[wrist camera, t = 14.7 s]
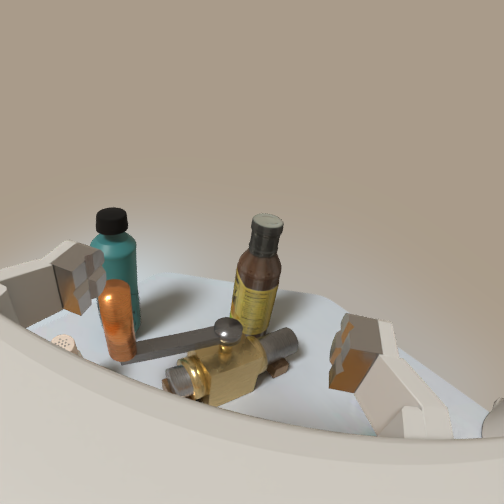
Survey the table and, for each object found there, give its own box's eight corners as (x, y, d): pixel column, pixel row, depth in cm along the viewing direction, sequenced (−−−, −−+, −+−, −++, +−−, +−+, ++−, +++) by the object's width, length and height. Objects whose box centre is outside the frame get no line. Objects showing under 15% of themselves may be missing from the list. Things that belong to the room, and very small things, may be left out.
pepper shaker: (99, 396, 35) (83, 350, 30) (73, 407, 32) (51, 362, 27) (87, 375, 37) (71, 327, 32) (62, 385, 34) (42, 337, 30)
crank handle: (233, 324, 38) (244, 259, 33) (245, 342, 35) (259, 277, 31) (108, 349, 31) (95, 280, 26) (113, 372, 28) (98, 303, 24)
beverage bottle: (126, 310, 50) (118, 197, 40) (151, 332, 47) (147, 213, 37) (94, 328, 45) (76, 210, 35) (118, 352, 42) (101, 229, 32)
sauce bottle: (238, 312, 54) (258, 204, 44) (271, 326, 53) (300, 218, 43) (220, 334, 49) (236, 218, 39) (256, 350, 47) (283, 235, 37)
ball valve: (271, 345, 49) (284, 299, 44) (294, 371, 45) (312, 326, 40) (161, 385, 39) (157, 338, 34) (180, 420, 35) (179, 377, 30)
